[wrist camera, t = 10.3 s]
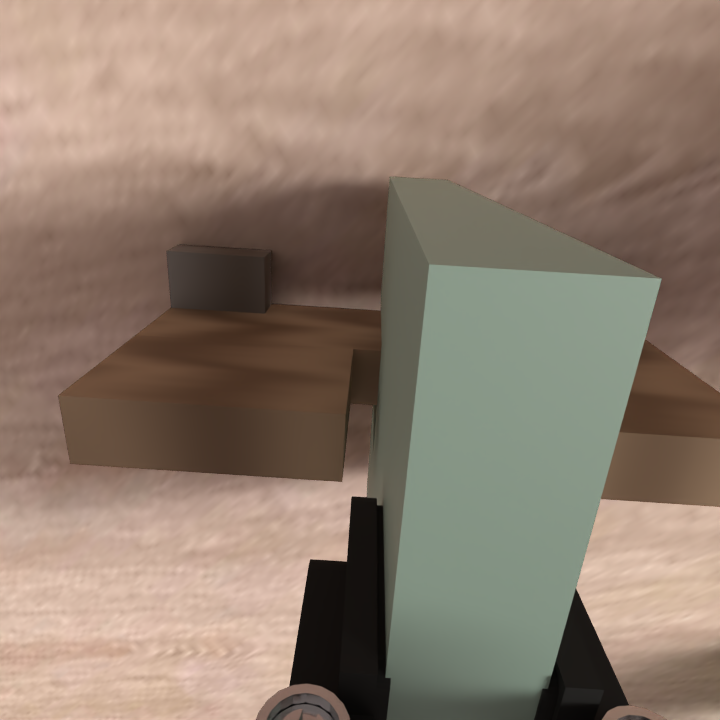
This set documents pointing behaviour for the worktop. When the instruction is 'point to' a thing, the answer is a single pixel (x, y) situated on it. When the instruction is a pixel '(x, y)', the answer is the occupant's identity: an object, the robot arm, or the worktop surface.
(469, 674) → the sage slotted plate
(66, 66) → the worktop surface
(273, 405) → the walnut slotted board
